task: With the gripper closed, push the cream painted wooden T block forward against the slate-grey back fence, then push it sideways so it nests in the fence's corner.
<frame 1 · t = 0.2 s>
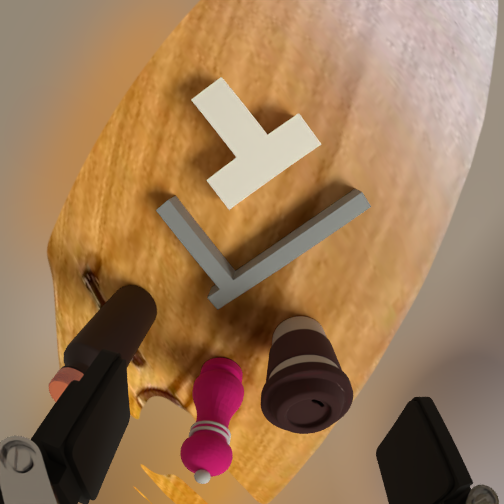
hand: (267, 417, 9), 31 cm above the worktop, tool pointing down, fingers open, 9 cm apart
pepper mill: (222, 371, 46), on the worktop
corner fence: (244, 205, 38), on the worktop
t block: (243, 132, 35), on the worktop
bottle: (136, 305, 43), on the worktop
coffee cup: (298, 336, 44), on the worktop
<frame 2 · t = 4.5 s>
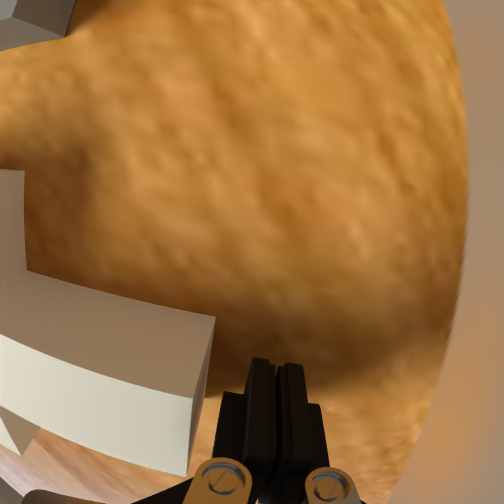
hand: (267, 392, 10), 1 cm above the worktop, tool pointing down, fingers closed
t block: (68, 324, 11), on the worktop, touching gripper
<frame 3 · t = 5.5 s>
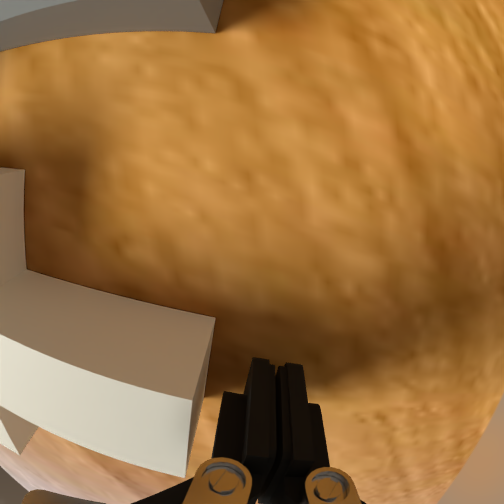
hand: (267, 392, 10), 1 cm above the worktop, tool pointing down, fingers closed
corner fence: (32, 199, 10), on the worktop
t block: (67, 324, 11), on the worktop, touching gripper
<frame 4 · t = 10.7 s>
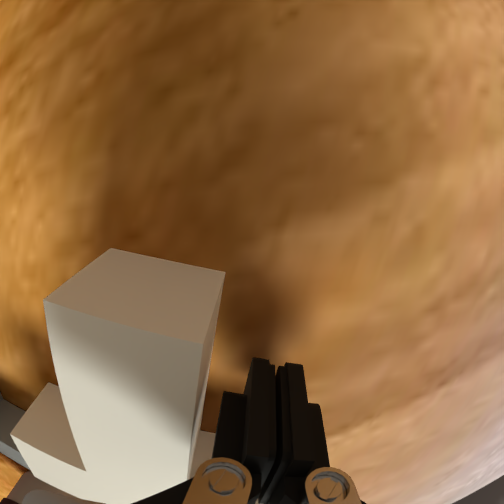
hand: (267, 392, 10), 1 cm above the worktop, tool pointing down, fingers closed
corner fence: (59, 360, 12), on the worktop
t block: (157, 391, 12), on the worktop, touching gripper
coffee cup: (59, 491, 18), on the worktop
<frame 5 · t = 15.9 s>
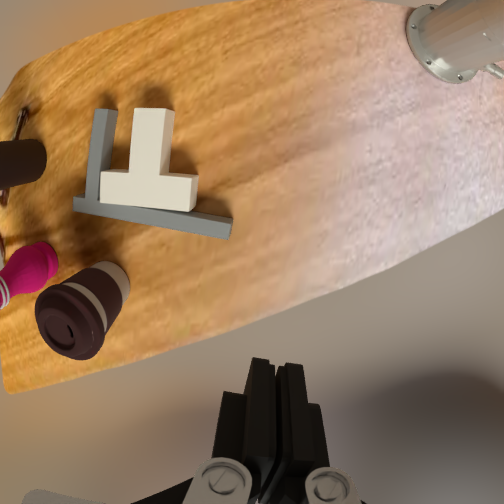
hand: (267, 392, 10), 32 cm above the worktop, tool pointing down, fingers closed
pepper mill: (45, 259, 45), on the worktop
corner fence: (151, 158, 39), on the worktop
t block: (155, 156, 39), on the worktop
bottle: (33, 160, 39), on the worktop
coffee cup: (110, 281, 45), on the worktop
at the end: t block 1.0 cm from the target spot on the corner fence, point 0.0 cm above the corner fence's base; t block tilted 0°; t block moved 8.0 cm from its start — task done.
